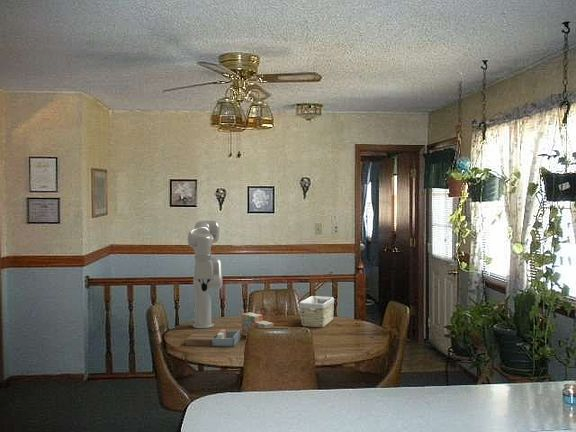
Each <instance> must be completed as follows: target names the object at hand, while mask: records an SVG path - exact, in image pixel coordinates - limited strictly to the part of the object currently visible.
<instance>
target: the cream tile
mask: <svg viewBox="0 0 576 432" xmlns="http://www.w3.org/2000/svg"><path fill="white" fill-rule="evenodd" d="M217 333H218V334H217V338H218V339H224V333H219V332H217Z"/></svg>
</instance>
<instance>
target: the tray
mask: <svg viewBox="0 0 576 432" xmlns="http://www.w3.org/2000/svg"><path fill="white" fill-rule="evenodd" d="M240 340H242V328H240V329H239V330H226V339H218V338H217V337H216V338H212V346H211V347H225V348H226V347H228V348H231V347H232V348H233V347H236V346H237V345H238V343H239V342H240Z"/></svg>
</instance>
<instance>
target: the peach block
mask: <svg viewBox="0 0 576 432" xmlns="http://www.w3.org/2000/svg"><path fill="white" fill-rule="evenodd" d="M226 331H227V330H226V329H225V328H224V329H222V328H221V329H220V330H219V331H218V333H224V339H226Z"/></svg>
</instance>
